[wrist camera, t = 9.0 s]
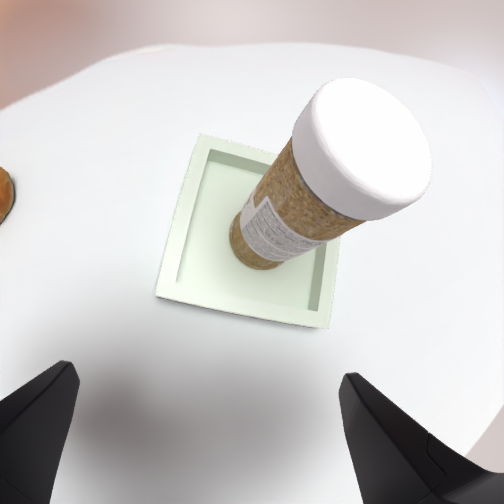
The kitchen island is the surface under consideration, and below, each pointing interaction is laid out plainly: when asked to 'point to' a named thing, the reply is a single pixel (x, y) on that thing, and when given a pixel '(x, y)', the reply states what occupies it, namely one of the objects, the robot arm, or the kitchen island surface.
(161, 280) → the tray
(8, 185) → the pastry
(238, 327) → the kitchen island surface
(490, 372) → the kitchen island surface
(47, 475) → the robot arm
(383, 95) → the sprinkles bottle
